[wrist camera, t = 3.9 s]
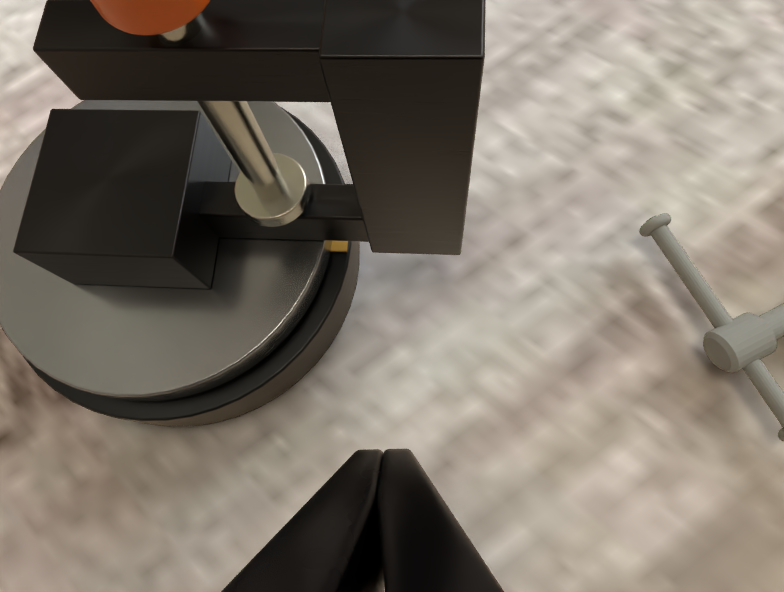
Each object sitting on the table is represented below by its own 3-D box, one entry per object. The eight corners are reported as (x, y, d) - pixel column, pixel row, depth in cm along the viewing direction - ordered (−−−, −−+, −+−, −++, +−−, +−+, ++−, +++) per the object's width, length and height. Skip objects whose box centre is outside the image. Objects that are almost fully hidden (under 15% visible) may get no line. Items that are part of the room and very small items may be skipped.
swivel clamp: (455, 418, 15) (495, 309, 5) (-32, 392, 16) (-767, 261, 6) (463, 94, 18) (500, -375, 8) (50, 91, 19) (-364, -323, 9)
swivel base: (345, 436, 18) (334, 431, 16) (4, 416, 18) (-48, 409, 16) (371, 122, 21) (364, 84, 19) (79, 118, 22) (43, 82, 20)
